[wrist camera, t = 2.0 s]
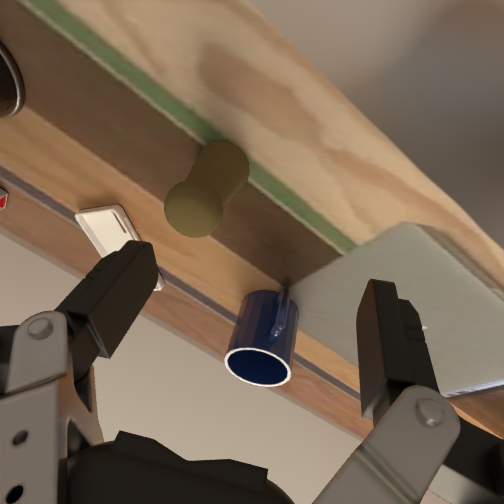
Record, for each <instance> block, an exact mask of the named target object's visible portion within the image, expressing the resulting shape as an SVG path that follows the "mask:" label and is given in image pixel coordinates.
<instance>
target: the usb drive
mask: <svg viewBox="0 0 504 504" xmlns="http://www.w3.org/2000/svg"><path fill="white" fill-rule="evenodd" d="M7 196H8V193H7V192H5V191H3V190H2V189H0V210H2V209H3V208H5V206H6V201H7Z"/></svg>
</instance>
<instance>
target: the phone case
mask: <svg viewBox="0 0 504 504" xmlns="http://www.w3.org/2000/svg"><path fill="white" fill-rule="evenodd" d="M113 212H114V213H115V214H116V215H117V217H118V218H119V220H120V222H121V223H122V225H123V227H124V228H125V230H126V232H124V230H123V228H122V227H121V225H120V223H119V222H118V220H117V218H116V217H115V215H114V213H113ZM75 218H76V220H77V222H78V223H79V225H80V226H81V227H82V229H83V230H84V232H85V233H86V235H87V236H88V238H89V239H90V241H91V242H92V243H93V245H94V246H95V248H96V249H97V251H98V252H99V254H100V255H101V257H102V258H103V257H105V256H107V255H108V254H110V253H112V252H113V251H119V250H120V249H121V248H122V247H123V245H124V244H125V243H126V242H127V241H128V240H137V241H141V240H140V238H139V236H138V235H137V233H136V231H135V229H134V228H133V226H132V224H131V222H130V221H129V219H128V217H127V215H126V214H125V212H124V210H123V209H122V207H121V206H119V205H110V206H104V207H97V208H90V209H84V210H80V211H79V212H78V213H76V214H75ZM124 219H125V220H126V222H127V224H128V226H129V227H130V229H131V231H132V232H131V231H130V229H129V228H128V226H127V224H126V222H125V221H124ZM158 273H159V272H158ZM156 286H157V287H156V288H155V289H154V290H153V291H157V290H161V289H162V288H163V286H164V280H163V279H162V277H161V275H160V273H159V277H158V282H157V285H156Z"/></svg>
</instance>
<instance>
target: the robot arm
mask: <svg viewBox="0 0 504 504" xmlns="http://www.w3.org/2000/svg"><path fill="white" fill-rule="evenodd" d="M23 103H24V87H23V82H22V79H21V76H20V73H19V71H18V69H17V67H16V65H15V63H14V61H13V60H12V58H11V56H10V55H9V53H8V52H7V51H6V49H5V48H4V47H3V45H2V44H1V43H0V118H7V117H10V116H13V115H15V114H17V113H18V112H19V111H20V110H21V108H22V106H23ZM158 277H159V273H158V268H157V263H156V259H155V255H154V250H153V246H152V244H151V243H149V242H143V241H137V240H128V241H127V242H126V243H125V244H124V245H123V247H122V248H121V249H120V250H119V251H113V252H112V253H110V254H108V255H107V256H105V257H103V258H102V259H101V260H100V261H99V262H98V263H97V264H96V265H95V267H94V268H93V270H91V271H90V272H89V273H88V274H87V275H86V278H85V279H84V278H83V280H82V281H81V282H80V283H79V284H78V285H77V286H76V287H75V288H74V289H73V290H72V292H71V293H70V294H69V295H68V296H67V297H66V298H65V299H64V300H63V301H62V302H61V303H60V305H59V306H58V307H57V308H56V309H55V310H54V311H44V312H40V313H37V314H35V315H33V316H31V317H29V318H28V319H26V320H25V321H24V322H23V323H21V325H13V326H1V327H0V504H294V502H293V501H292V500H291V499H290V497H289V496H288V495H287V494H286V493H285V492H284V491H283V490H282V489H281V488H279V487H278V486H277V485H276V484H274V483H273V482H271V481H270V480H268V479H267V473H268V469H266V468H262V467H258V466H254V465H251V464H247V463H243V462H239V461H235V460H231V459H220V460H199V461H188V460H185V459H183V458H182V457H180V456H179V455H177V454H175V453H174V452H173V451H171V450H170V449H168V448H167V447H165V446H163V445H162V444H160V443H159V442H157V441H156V440H154V439H151V438H147V437H143V436H139V435H136V434H132V433H128V432H124V431H119V433H118V435H117V437H116V438H115V440H114V441H109V442H104V439H103V434H102V430H101V428H100V424H99V421H98V415H97V402H96V390H95V377H94V367H93V365H92V363H93V362H94V360H95V359H96V358H97V356H99V357H104V358H108V359H110V358H111V356H112V354H113V353H114V351H115V350H116V348H117V347H118V345H119V344H120V342H121V341H122V339H123V337H124V336H125V334H126V333H127V331H128V330H129V328H130V327H131V325H132V323H133V322H134V320H135V319H136V317H137V316H138V314H139V312H140V311H141V309H142V308H143V306H144V305H145V303H146V301H147V300H148V298H149V297H150V295H151V294H152V292H153V290H154V289H155V287H156V285H157V282H158ZM356 329H357V345H358V362H359V378H360V394H361V411H362V417H365V418H369V419H373V425H374V428H373V429H372V431H371V432H370V433H369V434H368V436H367V437H366V438H365V439H364V441H363V442H362V443H361V444H360V445H359V446H358V447H357V448H356V449H355V450H354V452H353V453H352V454H351V455H350V457H349V458H348V459H347V460H346V462H345V463H344V464H343V465H342V467H341V468H340V469H339V470H338V472H337V473H336V474H335V475H334V477H333V478H332V479H331V480H330V482H329V483H328V484H327V485H326V487H325V488H324V489H323V491H322V492H321V493H320V494H319V495H318V497H317V498H316V499H315V500H314V502H313V503H312V504H420V502H421V500H422V498H423V496H424V494H425V493H426V491H427V490H428V491H430V492H432V493H433V494H435V495H437V496H438V497H440V498H441V499H443V500H445V501H446V502H448V503H450V504H504V439H503V440H502V439H500V438H498V437H496V436H494V435H492V434H491V433H489V432H487V431H485V430H483V429H481V428H479V427H477V426H475V425H473V424H471V423H469V422H467V421H466V420H464V419H463V418H461V417H460V416H459V415H458V414H457V413H456V411H455V409H454V407H453V406H452V405H451V404H450V402H449V401H448V400H447V399H446V398H445V397H443V396H442V395H441V394H440V392H439V389H438V386H437V382H436V378H435V374H434V370H433V367H432V363H431V359H430V355H429V352H428V348H427V344H426V343H425V336H424V333H423V331H422V325H421V321H420V317H419V314H418V312H417V311H416V310H415V308H414V307H413V306H412V304H411V303H410V302H409V300H403V299H398V295H397V290H396V286H395V283H394V282H389V281H382V280H376V279H370V280H369V281H368V284H367V287H366V289H365V292H364V295H363V297H362V300H361V303H360V305H359V308H358V312H357V319H356Z"/></svg>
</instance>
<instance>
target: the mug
mask: <svg viewBox="0 0 504 504" xmlns="http://www.w3.org/2000/svg"><path fill="white" fill-rule="evenodd" d="M290 294H291V291H290V289H289V288H284V289H283V290H282V291H281V293H278V292H274V291H268V290H261V291H256V292H253V293H250V294H249V295H247V296H246V297H245V298H244V300H243V302H242V305H241V307H240V310H239V314H238V317H237V320H236V323H235V326H234V329H233V332H232V335H231V338H230V342H229V345H228V348H227V351H226V354H225V357H224V363H225V366H226V367H227V369H228V370H229V371H230V372H231V373H232V374H233V375H234V376H235V377H237V378H239V379H241V380H242V381H245V382H248V383H250V384H254V385H258V386H268V387H272V386H279V385H282V384H284V383H286V382H287V381H288V380H289V379H290V378H291V372H292V364H293V356H294V348H295V340H296V332H297V325H298V317H299V312H298V309H297V306H296V305H295V303H294V302H293V301H292V300H291V299H290Z"/></svg>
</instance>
